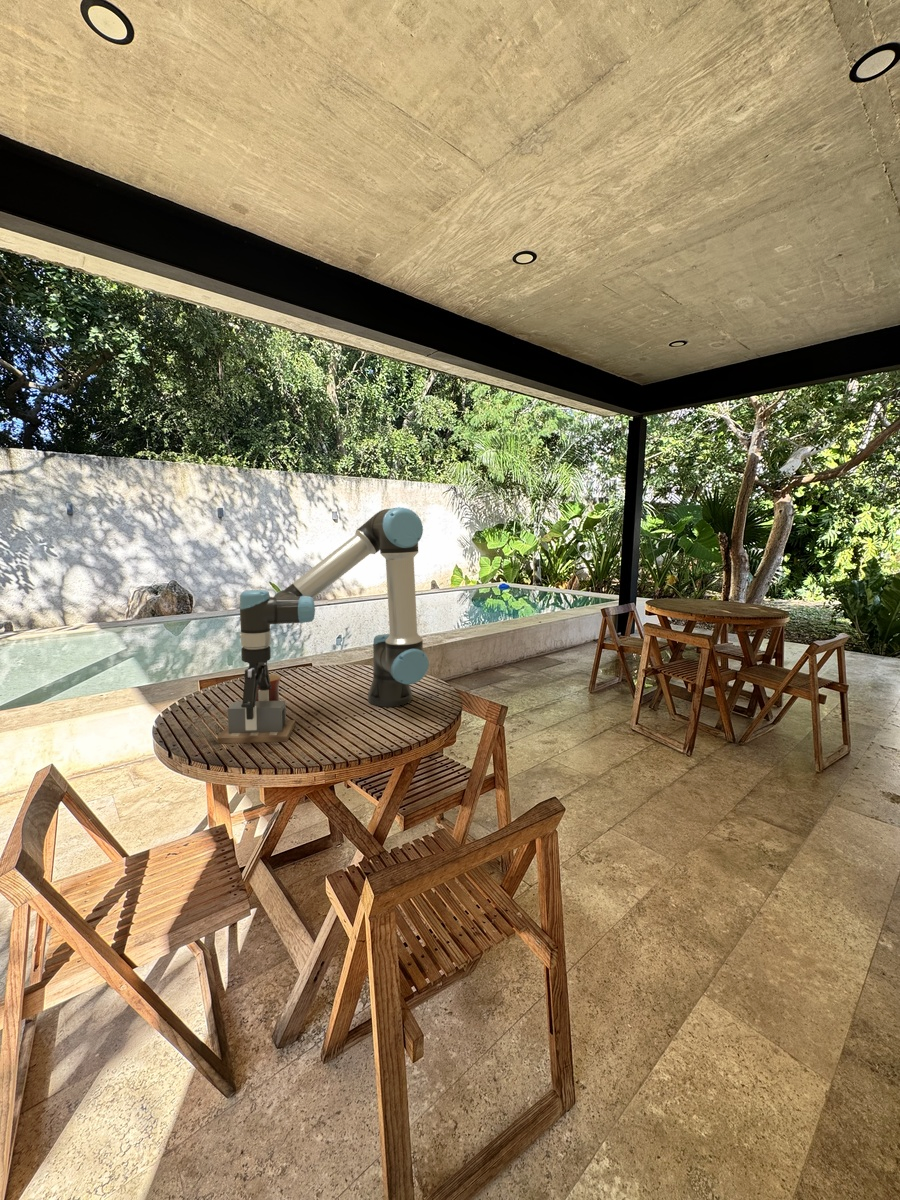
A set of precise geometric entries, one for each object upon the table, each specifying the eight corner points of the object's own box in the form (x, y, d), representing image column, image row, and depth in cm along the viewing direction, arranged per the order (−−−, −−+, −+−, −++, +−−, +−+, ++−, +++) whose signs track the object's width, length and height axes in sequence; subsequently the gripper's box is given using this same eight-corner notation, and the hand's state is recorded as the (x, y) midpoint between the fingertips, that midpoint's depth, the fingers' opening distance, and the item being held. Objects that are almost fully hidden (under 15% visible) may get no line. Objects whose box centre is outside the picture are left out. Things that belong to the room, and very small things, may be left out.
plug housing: (286, 723, 142) (285, 700, 141) (281, 732, 136) (281, 707, 135) (235, 725, 140) (234, 701, 139) (228, 733, 134) (227, 708, 133)
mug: (262, 703, 163) (261, 673, 162) (286, 705, 161) (285, 675, 160) (240, 715, 151) (239, 683, 150) (265, 718, 150) (265, 685, 148)
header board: (295, 724, 145) (294, 707, 144) (286, 741, 133) (286, 722, 133) (231, 726, 143) (231, 708, 142) (217, 743, 131) (216, 723, 130)
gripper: (253, 637, 147) (255, 705, 149) (226, 657, 122) (229, 738, 125) (279, 637, 147) (281, 705, 150) (258, 657, 123) (260, 738, 126)
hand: (257, 720), depth 137 cm, fingers open, 13 cm apart
